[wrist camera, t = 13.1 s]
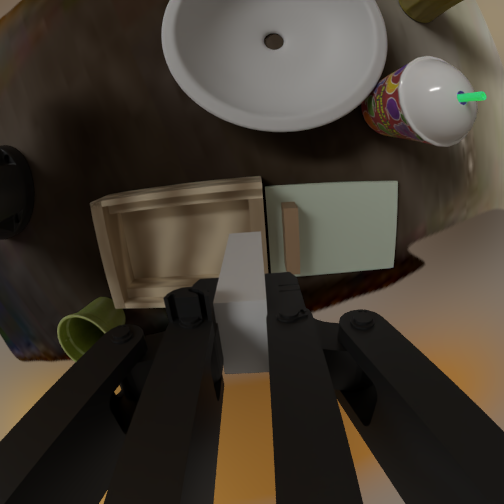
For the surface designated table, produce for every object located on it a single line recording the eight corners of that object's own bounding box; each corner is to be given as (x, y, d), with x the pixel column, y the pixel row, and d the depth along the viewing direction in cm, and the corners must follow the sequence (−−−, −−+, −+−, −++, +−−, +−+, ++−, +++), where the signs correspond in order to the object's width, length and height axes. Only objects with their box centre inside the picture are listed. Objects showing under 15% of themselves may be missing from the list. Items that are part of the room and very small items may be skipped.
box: (129, 289, 42) (115, 308, 37) (109, 194, 38) (89, 202, 32) (268, 281, 42) (270, 301, 36) (260, 175, 37) (261, 181, 32)
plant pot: (75, 288, 43) (47, 316, 35) (125, 284, 42) (101, 314, 34) (94, 337, 46) (72, 369, 38) (142, 337, 45) (125, 372, 37)
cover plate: (271, 274, 42) (272, 291, 37) (264, 185, 38) (265, 192, 33) (390, 264, 41) (403, 278, 37) (394, 180, 37) (410, 186, 33)
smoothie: (338, 102, 33) (417, 71, 15) (383, 67, 31) (478, 25, 13) (379, 154, 35) (478, 175, 17) (421, 118, 33) (529, 118, 15)
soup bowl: (397, 95, 33) (422, 89, 26) (227, 166, 36) (222, 171, 30) (312, -48, 25) (321, -72, 19) (148, 14, 29) (130, -4, 23)
